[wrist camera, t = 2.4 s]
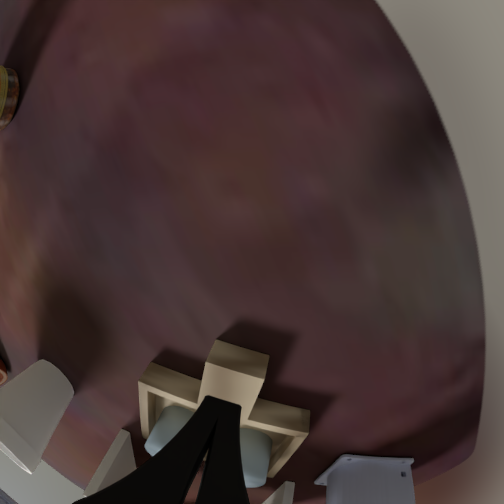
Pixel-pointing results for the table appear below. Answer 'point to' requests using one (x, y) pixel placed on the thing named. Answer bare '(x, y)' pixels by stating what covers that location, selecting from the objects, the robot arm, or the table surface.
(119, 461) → the shelf
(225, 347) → the serving board
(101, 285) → the table surface
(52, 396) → the foam cup
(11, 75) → the sauce bottle
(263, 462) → the pale blue rounded cylinder
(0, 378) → the fruit slice
